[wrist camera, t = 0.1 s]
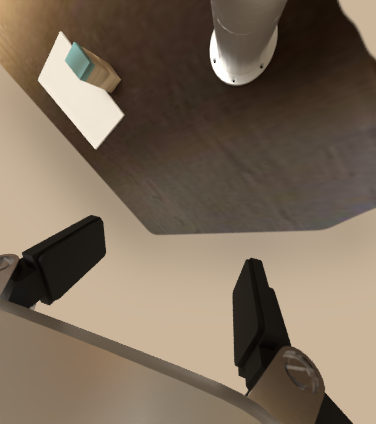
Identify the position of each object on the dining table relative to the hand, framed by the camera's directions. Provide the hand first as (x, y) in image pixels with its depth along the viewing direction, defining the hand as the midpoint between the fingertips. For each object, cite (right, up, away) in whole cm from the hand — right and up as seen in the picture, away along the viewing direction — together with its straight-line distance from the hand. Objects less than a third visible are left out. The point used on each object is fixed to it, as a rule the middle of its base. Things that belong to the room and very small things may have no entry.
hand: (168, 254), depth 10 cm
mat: (-27, +34, +33) cm, 55 cm away
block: (-18, +36, +30) cm, 50 cm away
